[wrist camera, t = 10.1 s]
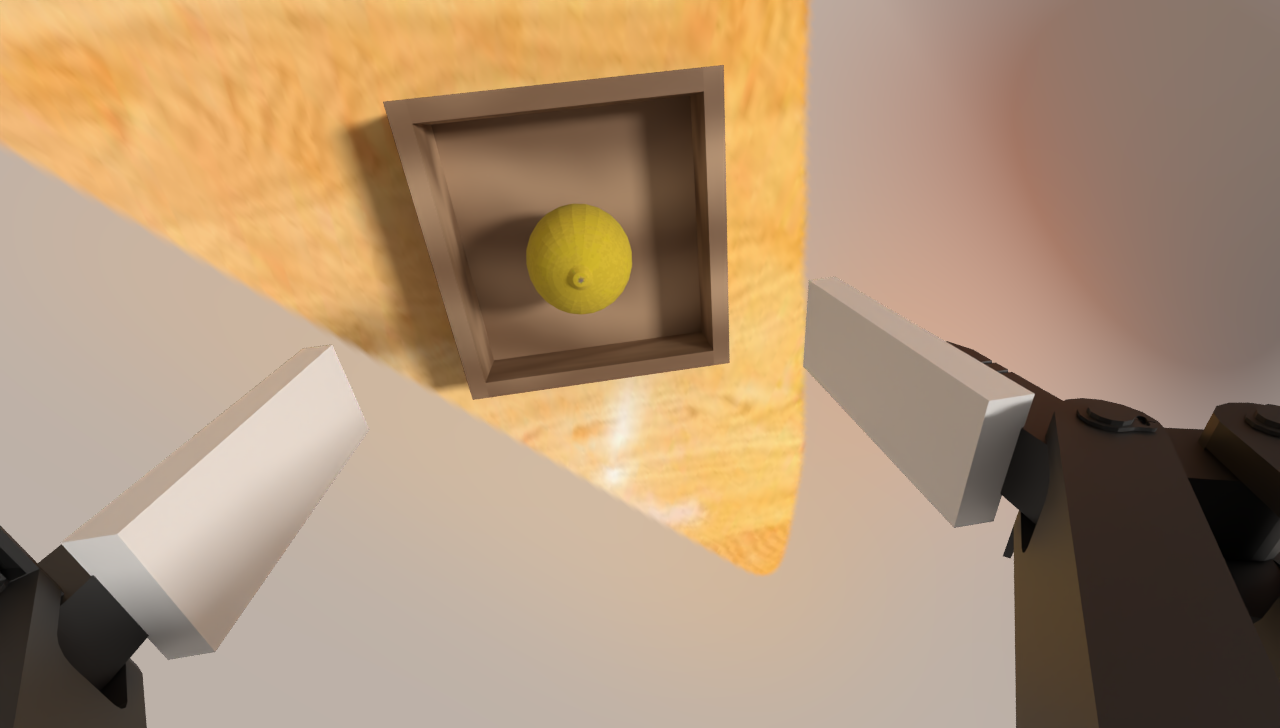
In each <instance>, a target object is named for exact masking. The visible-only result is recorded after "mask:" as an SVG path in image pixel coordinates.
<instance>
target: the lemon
mask: <svg viewBox="0 0 1280 728" xmlns="http://www.w3.org/2000/svg"><path fill="white" fill-rule="evenodd" d="M526 264H527V269H528V272H529V276H530V279H531V281H532V283H533V285H534V287H535V289H536V290H537V292H538V293H539V294H540V295H541V296H542V297H543V299H544V300H545V301H546V302H547V303H549V304H551V305H552V306H554V307H555V308H557V309H559V310H561V311H564V312H567V313H571V314H580V315H582V314H590V313H594V312H597V311H600V310H602V309H604V308H606V307H607V306H609V305H610V304H612V303H613V302H614V301H615V300H616V299H617V298H618V297H619V296H620V295H621V293H622V292H623V290H624V289H625V287H626V285H627V283H628V281H629V278H630V273H631V269H632V251H631V247H630V244H629V240H628V237H627V235H626V234H625V232H624V230H623V228H622V227H621V225H620V224H619V223H618V222H617V221H616V220H615V219H614V218H613V217H612V216H611V215H610V214H608V213H607V212H605V211H603V210H601V209H600V208H598V207H595V206H591V205H588V204H568V205H564V206H560V207H558V208H556V209H554V210H553V211H551V212H549V213H547V214H546V215H545V216H544V217H543V218H542V219H541V220H540V221H539V222H538V223H537V225H536V226H535V228H534V230H533V232H532V233H531V235H530V238H529V242H528V246H527V250H526Z"/></svg>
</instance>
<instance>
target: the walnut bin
mask: <svg viewBox="0 0 1280 728" xmlns="http://www.w3.org/2000/svg"><path fill="white" fill-rule="evenodd" d="M383 103H384V107H385V110H386V113H387V117H388V120H389V123H390V127H391V130H392V133H393V137H394V140H395V143H396V146H397V150H398V153H399V156H400V160H401V163H402V166H403V170H404V173H405V176H406V180H407V183H408V186H409V190H410V193H411V196H412V200H413V203H414V206H415V209H416V213H417V216H418V219H419V223H420V226H421V229H422V233H423V236H424V239H425V243H426V246H427V249H428V253H429V256H430V259H431V263H432V266H433V269H434V272H435V276H436V279H437V282H438V286H439V289H440V292H441V296H442V299H443V302H444V306H445V309H446V312H447V316H448V319H449V322H450V326H451V329H452V332H453V335H454V339H455V342H456V345H457V349H458V352H459V355H460V359H461V362H462V365H463V369H464V372H465V375H466V379H467V382H468V385H469V389H470V392H471V395H472V398H473V400H475V399H482V398H489V397H496V396H503V395H509V394H516V393H523V392H530V391H537V390H544V389H551V388H558V387H565V386H572V385H579V384H586V383H593V382H600V381H607V380H614V379H621V378H628V377H635V376H642V375H649V374H656V373H662V372H669V371H676V370H683V369H690V368H697V367H704V366H711V365H718V364H725V363H729V313H728V262H727V211H726V161H725V110H724V65H720V66H710V67H701V68H692V69H683V70H673V71H664V72H655V73H646V74H636V75H627V76H618V77H609V78H599V79H590V80H581V81H571V82H562V83H553V84H544V85H534V86H525V87H516V88H507V89H497V90H488V91H479V92H470V93H460V94H451V95H442V96H432V97H423V98H414V99H405V100H395V101H386V102H383ZM568 204H588V205H591V206H595V207H598V208H600V209H601V210H603V211H605V212H607V213H608V214H610V215H611V216H612V217H613V218H614V219H615V220H616V221H617V222H618V223H619V224H620V225H621V227H622V228H623V230H624V232H625V234H626V235H627V237H628V240H629V244H630V247H631V251H632V269H631V273H630V278H629V281H628V283H627V285H626V287H625V289H624V290H623V292H622V293H621V295H620V296H619V297H618V298H617V299H616V300H615V301H614V302H613V303H612V304H610V305H609V306H607V307H606V308H604V309H602V310H600V311H597V312H594V313H590V314H582V315H580V314H571V313H567V312H564V311H561V310H559V309H557V308H555V307H554V306H552V305H551V304H549V303H547V302H546V301H545V300H544V299H543V297H542V296H541V295H540V294H539V293H538V292H537V290H536V289H535V287H534V285H533V283H532V281H531V279H530V276H529V272H528V269H527V264H526V250H527V246H528V242H529V238H530V235H531V233H532V232H533V230H534V228H535V226H536V225H537V223H538V222H539V221H540V220H541V219H542V218H543V217H544V216H545V215H546V214H547V213H549V212H551V211H553V210H554V209H556V208H558V207H560V206H564V205H568Z"/></svg>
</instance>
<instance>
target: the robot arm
mask: <svg viewBox="0 0 1280 728" xmlns="http://www.w3.org/2000/svg"><path fill="white" fill-rule="evenodd" d="M803 367H804V368H805V369H806V370H807V371H808V372H809V373H810V374H811V375H812V376H813V377H814V378H815V379H816V380H817V381H818V383H819V384H820V385H821V386H822V387H823V388H824V389H825V390H826V391H827V392H828V393H829V394H830V395H831V397H832V398H833V399H834V400H835V401H836V402H837V403H838V404H839V405H840V406H841V407H842V408H843V409H844V410H845V412H846V413H847V414H848V415H849V416H850V417H851V418H852V419H853V420H854V421H855V422H856V423H857V424H858V425H859V427H860V428H861V429H862V430H863V431H864V432H865V433H866V434H867V435H868V436H869V437H870V438H871V439H872V440H873V442H874V443H875V444H876V445H877V446H878V447H879V448H880V449H881V450H882V451H883V452H884V453H885V454H886V455H887V457H889V459H890V460H891V461H892V462H893V463H894V464H895V465H896V466H897V467H898V468H899V469H900V470H901V471H902V473H903V474H904V475H905V476H906V477H907V478H908V479H909V480H910V481H911V482H912V483H913V484H914V485H915V486H916V488H917V489H918V490H919V491H920V492H921V493H922V494H923V495H924V496H925V497H926V498H927V499H928V500H929V502H931V504H932V505H933V506H934V507H935V508H936V509H937V510H938V511H939V512H940V513H941V514H942V515H943V516H944V518H945V519H946V520H947V521H948V522H949V523H950V524H951V525H952V526H953V527H954V528H956V527H962V526H968V525H973V524H979V523H985V522H991V521H994V518H995V515H996V512H997V509H998V506H999V502H1000V499H1001V496H1002V495H1003V496H1004V497H1005V498H1006V499H1007V500H1008V501H1009V502H1011V503H1012V504H1013V505H1014V506H1015V507H1016V508H1017V509H1019V512H1018V515H1017V518H1016V520H1015V524H1014V526H1013V529H1012V532H1011V535H1010V537H1009V540H1008V543H1007V546H1006V549H1005V552H1004V555H1003V556H1005V557H1008V558H1011V556H1012V554H1013V552H1014V595H1015V661H1016V662H1015V665H1016V668H1015V669H1016V728H1280V406H1276V405H1271V404H1267V405H1261V404H1254V403H1227V404H1223V405H1219V406H1216V408H1215V410H1214V412H1213V414H1212V416H1211V418H1210V420H1209V421H1208V423H1207V425H1206V427H1205V429H1204V430H1200V429H1199V430H1198V429H1177V428H1164V427H1163V426H1162V425H1161V424H1160V423H1159V422H1158V421H1156V420H1155V419H1153V418H1151V417H1150V416H1148V415H1146V414H1145V413H1143V412H1140V411H1138V410H1135V409H1132V408H1130V407H1127V406H1124V405H1121V404H1117V403H1112V402H1108V401H1103V400H1096V399H1085V398H1080V399H1068V400H1065V401H1062V400H1061V399H1059V398H1057V397H1055V396H1053V395H1051V394H1050V393H1048V392H1046V391H1045V390H1043V389H1041V388H1039V387H1038V386H1036V385H1034V384H1032V383H1030V382H1029V381H1027V380H1025V379H1024V378H1022V377H1020V376H1018V375H1016V374H1015V373H1013V372H1008V369H1006V368H1004V367H1002V366H1001V365H999V364H997V363H992V361H991V360H990V359H988V358H987V357H985V356H983V355H981V354H979V353H978V352H976V351H974V350H972V349H969V348H966V347H963V346H960V345H957V344H954V343H951V342H948V341H944V340H942V339H940V338H939V337H937V336H935V335H934V334H932V333H930V332H929V331H927V330H925V329H923V328H922V327H920V326H918V325H917V324H915V323H913V322H911V321H910V320H908V319H906V318H905V317H903V316H901V315H900V314H898V313H896V312H894V311H893V310H891V309H889V308H887V307H886V306H884V305H883V304H881V303H879V302H877V301H876V300H874V299H872V298H871V297H869V296H867V295H865V294H864V293H862V292H860V291H859V290H857V289H855V288H854V287H852V286H850V285H848V284H847V283H845V282H843V281H842V280H840V279H838V278H836V277H828V278H821V279H814V280H809V285H808V301H807V317H806V333H805V348H804V364H803ZM368 431H369V427H368V425H367V423H366V420H365V418H364V416H363V413H362V411H361V409H360V407H359V404H358V402H357V400H356V397H355V395H354V393H353V390H352V388H351V386H350V384H349V381H348V379H347V377H346V375H345V372H344V370H343V368H342V365H341V363H340V361H339V358H338V356H337V354H336V352H335V349H334V347H333V345H325V346H318V347H310V348H303V349H302V350H300V351H299V352H298V353H297V354H295V355H294V356H293V357H292V358H290V359H289V360H288V361H287V362H285V363H284V364H283V365H282V366H281V367H279V368H278V369H277V370H275V371H274V372H273V373H272V374H270V375H269V376H268V377H267V378H265V379H264V380H263V381H262V382H260V383H259V384H258V385H257V386H255V387H254V388H253V389H252V390H250V391H249V392H248V393H247V394H245V395H244V396H243V397H242V398H241V399H239V400H238V401H237V402H236V403H234V404H233V405H232V406H231V407H229V408H228V409H227V410H226V411H224V412H223V413H222V414H221V415H219V416H218V417H217V418H216V419H214V420H213V421H212V422H211V423H209V424H208V425H207V426H206V427H204V428H203V429H202V430H201V431H199V432H198V433H197V434H196V435H194V436H193V437H192V438H191V439H190V440H188V441H187V442H186V443H184V444H183V445H182V446H181V447H180V448H178V449H177V450H176V451H175V452H173V453H172V454H171V455H169V456H168V457H167V458H166V459H164V460H163V461H162V462H161V463H159V464H158V465H157V466H156V467H154V468H153V469H152V470H151V471H150V472H148V473H147V474H146V475H145V476H143V477H142V478H141V479H140V480H138V481H137V482H136V483H135V484H133V485H132V486H131V487H130V488H128V489H127V490H126V491H125V492H123V493H122V494H121V495H120V496H118V497H117V498H116V499H115V500H113V501H112V502H111V503H110V504H108V505H107V506H106V507H105V508H103V509H102V510H101V511H100V512H98V513H97V514H96V515H95V516H93V517H92V518H91V519H90V520H88V521H87V522H86V523H85V524H83V525H82V526H81V527H80V528H78V529H77V530H76V531H75V532H74V533H72V534H71V535H70V536H68V537H67V538H66V539H65V540H63V541H62V542H61V545H60V546H59V547H58V548H57V549H55V550H54V551H53V552H52V553H50V554H49V555H48V556H47V557H45V558H44V559H43V560H41V562H39V563H38V564H37V563H36V561H35V560H34V559H33V558H32V557H31V556H30V555H29V554H28V553H27V552H26V551H25V550H24V549H23V548H22V547H21V546H20V545H19V544H18V543H17V542H16V541H15V540H14V539H13V538H12V537H11V536H10V535H9V534H8V533H7V532H6V531H5V530H4V529H3V528H2V527H1V526H0V728H147V727H146V715H145V702H144V690H143V689H144V688H143V676H142V672H141V671H140V669H139V667H138V666H137V665H136V664H135V663H134V662H133V661H132V660H131V659H130V657H131V656H132V655H133V654H134V652H135V651H136V650H137V649H138V648H139V646H140V645H141V644H142V643H143V642H144V641H145V639H146V638H148V639H149V640H150V641H151V642H152V643H153V644H154V645H155V646H156V647H157V648H158V650H160V652H161V653H162V654H163V655H164V656H165V657H166V658H167V659H168V660H170V659H176V658H181V657H187V656H194V655H200V654H205V653H211V652H215V651H216V650H217V649H218V647H219V646H220V644H221V643H222V641H223V640H224V638H225V637H226V636H227V634H228V633H229V631H230V630H231V628H232V627H233V625H234V624H235V623H236V621H237V620H238V618H239V617H240V615H241V614H242V613H243V611H244V610H245V608H246V607H247V605H248V604H249V602H250V601H251V599H252V598H253V597H254V595H255V594H256V592H257V591H258V589H259V588H260V586H261V585H262V584H263V582H264V581H265V579H266V578H267V576H268V575H269V574H270V572H271V571H272V569H273V568H274V566H275V565H276V563H277V562H278V561H279V559H280V558H281V556H282V555H283V553H284V552H285V551H286V549H287V547H288V546H289V545H290V543H291V542H292V540H293V539H294V538H295V536H296V535H297V533H298V532H299V530H300V529H301V527H302V526H303V524H304V523H305V522H306V520H307V519H308V517H309V516H310V514H311V513H312V512H313V510H314V509H315V507H316V506H317V504H318V503H319V502H320V500H321V498H322V497H323V496H324V494H325V493H326V491H327V490H328V489H329V487H330V486H331V484H332V483H333V481H334V480H335V478H336V477H337V475H338V474H339V473H340V471H341V470H342V468H343V467H344V465H345V464H346V463H347V461H348V460H349V458H350V457H351V455H352V454H353V453H354V451H355V450H356V448H357V447H358V445H359V444H360V442H361V441H362V440H363V438H364V436H365V435H366V434H367V432H368Z"/></svg>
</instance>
